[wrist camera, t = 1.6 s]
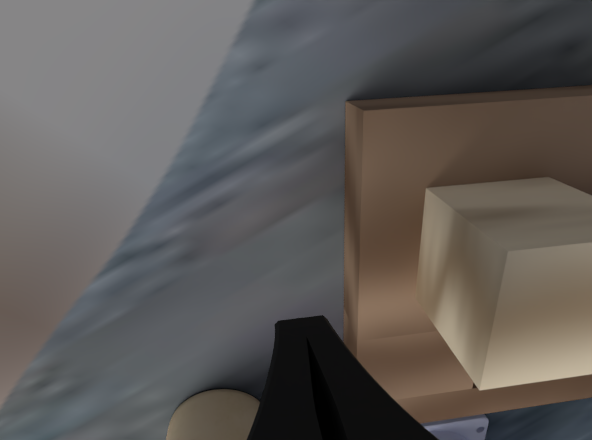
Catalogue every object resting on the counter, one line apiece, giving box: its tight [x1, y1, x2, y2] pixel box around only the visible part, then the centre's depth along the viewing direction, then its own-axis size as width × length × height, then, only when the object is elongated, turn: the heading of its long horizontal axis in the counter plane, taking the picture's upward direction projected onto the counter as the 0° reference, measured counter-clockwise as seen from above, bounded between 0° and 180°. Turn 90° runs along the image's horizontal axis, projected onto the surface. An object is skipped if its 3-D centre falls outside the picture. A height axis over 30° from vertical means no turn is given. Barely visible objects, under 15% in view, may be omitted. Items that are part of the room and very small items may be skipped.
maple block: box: [415, 177, 592, 391], centre depth 14 cm, size 5×5×5 cm
